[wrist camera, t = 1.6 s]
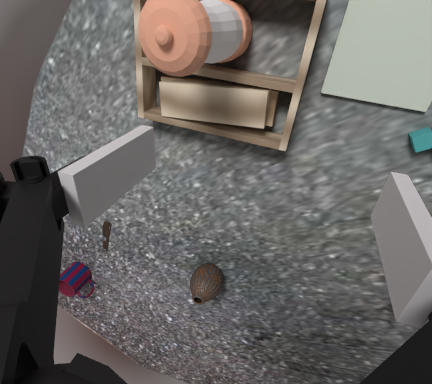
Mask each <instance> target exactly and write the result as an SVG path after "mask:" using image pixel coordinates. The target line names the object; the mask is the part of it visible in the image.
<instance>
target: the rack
mask: <svg viewBox="0 0 432 384" xmlns="http://www.w3.org/2000/svg"><path fill="white" fill-rule="evenodd" d="M146 1H147V0H133V3H134V27H135V52H136V76H137V100H138V117H140V118H144V119H149V120H153V121H157V122H161V123H166V124H170V125H174V126H179V127H183V128H187V129H192V130H196V131H200V132H205V133H209V134H213V135H217V136H222V137H226V138H230V139H235V140H239V141H243V142H248V143H252V144H256V145H260V146H265V147H269V148H273V149H278V150H282V151H286V148H287V145H288V142H289V138H290V134H291V131H292V127H293V123H294V120H295V116H296V112H297V108H298V105H299V101H300V97H301V94H302V90H303V86H304V83H305V79H306V75H307V71H308V68H309V64H310V60H311V57H312V53H313V49H314V46H315V42H316V38H317V34H318V31H319V27H320V23H321V20H322V16H323V12H324V9H325V5H326V1H327V0H305V1H313V2H316V5H315V9H314V13H313V17H312V21H311V24H310V28H309V32H308V36H307V40H306V44H305V48H304V52H303V56H302V60H301V64H300V68H299V72H298V76H297V80H295V79H290V78H284V77H278V76H273V75H267V74H261V73H256V72H250V71H244V70H239V69H233V68H227V67H222V66H216V65H210V64H205V63H203V65H202V66H201V67H200V69H198V70H197V71H195V72H194V73H192V74H194V75H199V76H205V77H210V78H216V79H221V80H226V81H232V82H237V83H242V84H248V85H253V86H258V87H264V88H269V89H274V90H280V91H285V92H290V93H293V95H292V99H291V103H290V107H289V111H288V115H287V119H286V123H285V127H284V131H283V134H280V133H275V132H271V131H266V130H261V129H257V128H252V127H246V126H238V125H230V124H222V123H214V122H206V121H198V120H189V119H181V118H173V117H165V116H162V113H161V107H157V106H156V68H155V67H154V66H153V65H152V64H151V63H150V62H149V60H148V59H147V57H146V55H145V54H144V52H143V50H142V46H141V43H140V40H139V30H138V24H139V18H140V13H141V11H142V9H143V7H144V5H145V3H146Z"/></svg>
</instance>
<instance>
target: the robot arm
mask: <svg viewBox="0 0 432 384" xmlns="http://www.w3.org/2000/svg"><path fill="white" fill-rule="evenodd" d="M10 166H11V168H12V171H13V174H14V177H15V179H16V182H10V181H5V180H4V178H3V175H2V173H1V172H0V384H127V383H126V382H125V381H124V380H123V379H122V378H120V377H119V376H118V375H117V374H116V373H115V372H114V371H113V370H112V369H111V368H110V367H109V366H106V365H104V364H102V363H100V362H97V361H95V360H93V359H90V358H88V357H86V356H83V355H81V354H79V353H77V354H76V356H75V357H74V358H73V360H72V361H71V362H70V363H66V364H55V365H54V359H53V358H54V357H53V354H54V340H55V328H56V316H57V304H58V293H59V281H60V269H61V257H62V245H63V233H64V221H63V217H64V216H65V215H67V214H68V213H69V216H70V220H71V223H72V224H75V225H78V226H82V227H86V226H87V225H89V224H90V223H91V222H92V221H93V220H95V219H96V218H97V217H98V216H99V215H100V214H102V213H103V212H104V211H105V210H106V209H108V208H109V207H110V206H111V205H112V204H113V203H115V202H116V201H117V200H118V199H119V198H121V197H122V196H123V195H124V194H125V193H126V192H128V191H129V190H130V189H131V188H132V187H134V186H135V185H136V184H137V183H138V182H139V181H141V180H142V179H143V178H144V177H145V176H147V175H148V174H149V173H150V172H151V171H152V170H154V169H155V168H156V166H155V147H154V129H153V127H149V126H144V125H142V126H140V127H138V128H136V129H134V130H132V131H131V132H129V133H127V134H125V135H123V136H122V137H120V138H118V139H116V140H114V141H112V142H111V143H109V144H107V145H105V146H103V147H102V148H100V149H98V150H96V151H94V152H92V153H91V154H89V155H86V156H82V157H81V158H79V159H77V160H75V162H74V161H73V162H71V163H70V164H69V165H66V166H64V167H62V168H60V169H59V170H57V171H55V172H53V173H51V174H50V172H49V169H48V165H47V162H46V158H44V157H41V156H27V157H22V158H19V159H16V160H14V161H13V162H11V164H10ZM371 220H372V224H373V228H374V233H375V237H376V241H377V245H378V249H379V253H380V258H381V262H382V266H383V270H384V274H385V278H386V283H387V287H388V291H389V295H390V299H391V303H392V308H393V312H394V316H395V320H396V322H400V323H403V324H406V325H409V326H413V327H416V328H419V329H420V328H421V327H422V326H423V324H424V323H425V322H426V320H427V319H428V318H429V322H427V323H426V324H425V325H424V326H423V327H422V328H421V329H420V330H419V331H417V332H416V333H415V334H414V335H413V336H412V337H411V338H410V339H408V340H407V341H406V342H405V343H404V344H403V345H402V346H401V347H400V348H398V349H397V350H396V351H395V352H394V353H393V354H392V355H391V356H390V357H388V358H387V359H386V360H385V361H384V362H383V363H382V364H381V365H380V366H378V367H377V368H376V369H375V370H374V371H373V372H372V373H371V374H370V375H368V376H367V377H366V378H365V379H364V380H363V381H362V382H361V383H360V384H432V218H431V216H430V214H429V212H428V210H427V209H426V207H425V205H424V203H423V201H422V200H421V198H420V196H419V194H418V192H417V191H416V189H415V187H414V185H413V183H412V182H411V180H410V178H409V176H408V175H405V174H400V173H394V172H390V175H389V177H388V179H387V181H386V183H385V186H384V188H383V190H382V192H381V194H380V197H379V199H378V201H377V203H376V206H375V208H374V210H373V212H372V214H371Z"/></svg>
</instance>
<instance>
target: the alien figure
mask: <svg viewBox="0 0 432 384" xmlns="http://www.w3.org/2000/svg"><path fill="white" fill-rule="evenodd" d="M408 134H409V137H410V141H411V145H412V148H413V150H414V151H415V152H416V153H417V152H420V151H423V150H427V149H430V148H432V130H431V129H430V128H429V127H427V128H424V129H421V130H418V131H414V132H411V133H408Z"/></svg>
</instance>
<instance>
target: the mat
mask: <svg viewBox="0 0 432 384" xmlns="http://www.w3.org/2000/svg"><path fill="white" fill-rule="evenodd" d="M321 93H324V94H330V95H335V96H341V97H346V98H352V99H357V100H363V101H368V102H374V103H379V104H384V105H390V106H395V107H401V108H406V109H412V110H417V111H423V112H426V111H427V109H428V107H429V105H430V103H431V101H432V0H349V2H348V6H347V9H346V12H345V16H344V19H343V22H342V25H341V29H340V32H339V35H338V38H337V42H336V45H335V48H334V51H333V55H332V58H331V61H330V64H329V68H328V71H327V74H326V78H325V81H324V84H323V87H322V91H321Z"/></svg>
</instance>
